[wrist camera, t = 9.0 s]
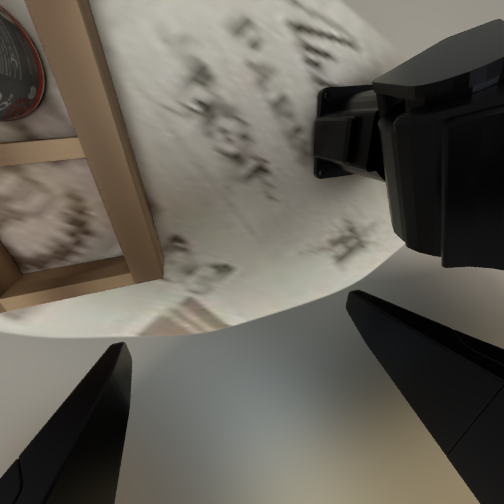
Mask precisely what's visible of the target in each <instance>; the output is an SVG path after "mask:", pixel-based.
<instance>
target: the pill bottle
mask: <svg viewBox="0 0 504 504" xmlns="http://www.w3.org/2000/svg"><path fill="white" fill-rule="evenodd" d="M44 84H45V82H44V72H43V67H42V63H41V60H40V57H39V55H38V53H37V50H36V48H35V47H34V45H33V43H32V41H31V40H30V38H29V37H28V35H27V34H26V32H25V31H24V30H23V28H22V27H21V26H20V25H19V23H18V22H17V21H16V20H15V19H14V18H13V17H12V16H11V15H10V14H9V13H8V12H7V11H6V10H5V9H4V8H3V7H1V6H0V121H9V120H15V119H19V118H21V117H24V116H26V115H28V114H29V113H30V112H32V111H33V110H34V109H35V108H36V107H37V106H38V104H39V102H40V100H41V98H42V96H43V92H44Z"/></svg>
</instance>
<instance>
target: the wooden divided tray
mask: <svg viewBox="0 0 504 504" xmlns="http://www.w3.org/2000/svg"><path fill="white" fill-rule="evenodd" d="M24 1H25V3H26V6H27V8H28V11H29V13H30V16H31V19H32V21H33V24H34V26H35V29H36V31H37V34H38V37H39V39H40V42H41V44H42V47H43V49H44V52H45V55H46V57H47V60H48V62H49V65H50V67H51V70H52V72H53V75H54V78H55V80H56V83H57V85H58V88H59V90H60V93H61V96H62V98H63V101H64V103H65V106H66V108H67V111H68V114H69V116H70V119H71V121H72V124H73V126H74V129H75V132H76V134H77V136H75V137H63V138H51V139H39V140H28V141H16V142H4V143H0V166H8V165H18V164H27V163H37V162H47V161H57V160H66V159H76V158H86V160H87V162H88V165H89V167H90V170H91V173H92V175H93V178H94V180H95V183H96V185H97V188H98V191H99V193H100V196H101V198H102V201H103V203H104V206H105V209H106V211H107V214H108V216H109V219H110V221H111V224H112V227H113V229H114V232H115V234H116V237H117V239H118V242H119V245H120V247H121V250H122V252H123V255H124V256H119V257H114V258H109V259H103V260H98V261H93V262H87V263H82V264H77V265H71V266H66V267H61V268H55V269H50V270H44V271H39V272H34V273H28V274H22V273H21V271H20V270H19V268H18V267H17V265H16V264H15V262H14V261H13V259H12V258H11V256H10V255H9V253H8V252H7V250H6V249H5V247H4V246H3V244H2V243H1V241H0V313H2V312H6V311H11V310H16V309H20V308H25V307H30V306H34V305H39V304H44V303H49V302H53V301H58V300H63V299H67V298H72V297H77V296H82V295H86V294H91V293H96V292H100V291H105V290H110V289H115V288H119V287H124V286H129V285H133V284H138V283H143V282H148V281H152V280H157V279H162V278H163V273H164V256H163V253H162V249H161V246H160V242H159V239H158V236H157V232H156V229H155V225H154V222H153V219H152V215H151V212H150V208H149V205H148V202H147V198H146V195H145V191H144V188H143V185H142V181H141V178H140V174H139V171H138V168H137V164H136V161H135V157H134V154H133V151H132V147H131V144H130V140H129V137H128V134H127V130H126V127H125V123H124V120H123V117H122V113H121V110H120V106H119V103H118V100H117V96H116V93H115V89H114V86H113V83H112V79H111V76H110V72H109V69H108V66H107V62H106V59H105V55H104V52H103V49H102V45H101V42H100V38H99V35H98V31H97V28H96V25H95V21H94V18H93V14H92V11H91V8H90V4H89V1H88V0H24Z"/></svg>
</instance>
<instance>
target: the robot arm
mask: <svg viewBox="0 0 504 504" xmlns="http://www.w3.org/2000/svg"><path fill="white" fill-rule="evenodd" d="M372 83H373V85H362V86H345V87H328V88H324V89H322V90H321V91H320V93H319V99H318V116H317V120H316V124H315V142H314V155H315V168H314V175H315V177H317V178H319V179H324V178H331V177H338V176H345V175H351V174H358V175H362V176H365V177H369V178H372V179H376V180H379V181H383V182H386V186H387V194H388V201H389V208H390V215H391V222H392V226H393V230H394V232H395V233H396V234H397V235H398V236H399V237H400V238H401V239H402V240H403V241H404V242H405V244H406V246H407V247H408V248H410V249H412V250H415V251H417V252H420V253H424V254H428V255H432V256H438V257H441V265H442V266H443V267H445V268H453V267H469V266H470V267H482V268H494V269H499V270H504V21H503V20H501V19H497V20H494V21H491V22H488V23H485V24H483V25H480V26H477V27H475V28H472V29H469V30H467V31H464V32H461V33H458V34H456V35H453V36H450V37H448V38H446V39H444V40H442V41H440V42H438V43H437V44H435V45H433V46H432V47H430V48H428V49H426V50H425V51H423V52H422V53H420V54H418V55H416V56H414V57H413V58H411V59H409V60H408V61H406V62H404V63H403V64H401V65H399V66H397V67H396V68H394V69H392V70H391V71H389V72H387V73H385V74H384V75H382V76H380V77H379V78H377V79H375V80H374V81H372ZM325 93H327V94H328V97H327V99H325V97H324V96H325ZM321 170H322V173H321V175H319V172H320V171H321ZM346 309H347V312H348V314H349V315H350V317H351V318H352V321H353V322H354V324H355V326H356V327H357V329H358V331H359V333H360V334H361V336H362V338H363V339H364V341H365V343H366V344H367V346H368V347H369V348H370V350H371V351H372V353H373V354H374V355H375V357H376V358H377V359H378V361H379V362H380V364H381V365H382V367H383V368H384V369H385V371H386V372H387V373H388V375H389V376H390V378H391V379H392V380H393V382H394V383H395V385H396V386H397V387H398V389H399V390H400V391H401V393H402V395H403V396H404V397H405V399H406V400H407V401H408V403H409V404H410V406H411V407H412V409H413V410H414V411H415V413H416V414H417V416H418V417H419V418H420V420H421V421H422V423H423V424H424V425H425V427H426V428H427V429H428V431H429V432H430V434H431V435H432V437H433V438H434V439H435V441H436V442H437V444H438V445H439V446H440V448H441V449H442V451H443V452H444V453H445V455H447V458H448V459H449V461H450V462H451V463H452V465H453V466H454V468H455V469H456V470H457V472H458V473H459V475H460V476H461V477H462V478H463V480H464V482H465V483H466V484H467V486H468V487H469V488H470V490H471V491H472V493H473V494H474V495H475V497H476V498H477V500H478V501H479V503H480V504H504V349H502V348H500V347H497V346H494V345H492V344H489V343H486V342H483V341H481V340H479V339H476V338H474V337H471V336H469V335H466V334H464V333H462V332H459V331H457V330H453V329H451V328H450V327H447V326H445V325H442V324H440V323H438V322H435V321H433V320H430V319H428V318H426V317H423V316H421V315H418V314H416V313H414V312H411V311H409V310H407V309H404V308H402V307H399V306H397V305H395V304H392V303H390V302H387V301H385V300H383V299H380V298H378V297H375V296H373V295H371V294H368V293H366V292H364V291H361V290H354V291H350V292H349V293H348V298H347V302H346ZM131 375H132V357H131V355H130V352H129V350H128V348H127V345H126V343H125V342H119V343H115V344H112V345H111V346H109V348H108V349H107V350H106V351H105V353H104V354H103V355H102V357H100V359H99V360H98V361H97V362H96V363H95V365H94V366H93V367H92V368H91V370H90V371H89V372H88V373H87V374H86V376H85V377H84V378H83V379H82V380H81V382H80V383H79V384H78V385H77V386H76V388H75V389H74V390H73V391H72V393H71V394H70V395H69V396H68V397H67V399H66V400H65V401H64V402H63V403H62V405H61V406H60V407H59V408H58V410H57V411H56V412H55V413H54V414H53V416H52V417H51V418H50V419H49V420H48V422H47V423H46V424H45V425H44V426H43V428H42V429H41V430H40V431H39V433H38V434H37V435H36V436H35V438H34V439H33V440H32V441H31V442H30V444H29V445H28V446H27V447H26V448H25V449H24V451H23V452H22V453H21V454H20V456H19V459H16V460H15V462H14V463H13V464H12V465H11V466H10V468H9V469H8V470H7V471H6V472H5V474H4V475H3V476H2V477H1V478H0V504H114V503H115V496H116V490H117V484H118V478H119V471H120V466H121V460H122V453H123V448H124V441H125V435H126V429H127V422H128V417H129V410H130V397H131V377H132V376H131Z"/></svg>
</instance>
